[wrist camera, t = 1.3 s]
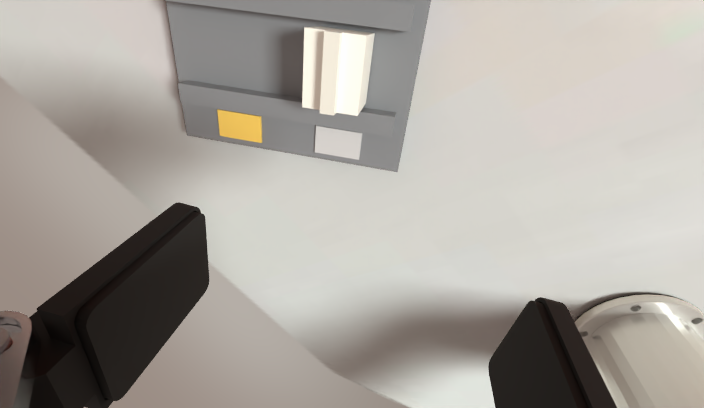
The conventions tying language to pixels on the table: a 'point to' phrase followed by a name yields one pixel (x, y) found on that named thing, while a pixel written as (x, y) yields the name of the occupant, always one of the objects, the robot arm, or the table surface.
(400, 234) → the table surface
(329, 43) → the switch tab
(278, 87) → the switch panel
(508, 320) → the table surface
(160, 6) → the table surface
